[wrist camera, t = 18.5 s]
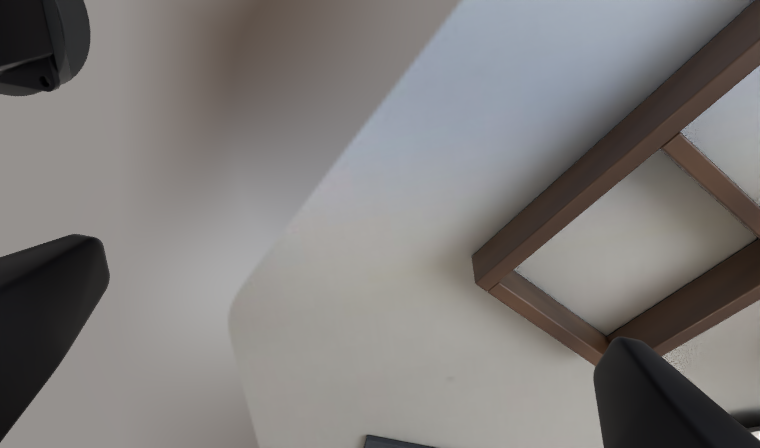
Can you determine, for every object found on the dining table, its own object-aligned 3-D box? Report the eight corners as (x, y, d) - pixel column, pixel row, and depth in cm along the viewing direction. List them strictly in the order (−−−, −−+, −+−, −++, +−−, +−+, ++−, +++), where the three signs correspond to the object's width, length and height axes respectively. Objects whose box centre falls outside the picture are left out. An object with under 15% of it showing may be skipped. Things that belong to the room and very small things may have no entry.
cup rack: (470, 256, 23) (474, 283, 21) (906, -138, 13) (982, -153, 12) (604, 350, 25) (618, 382, 23) (1048, 70, 16) (1131, 86, 14)
